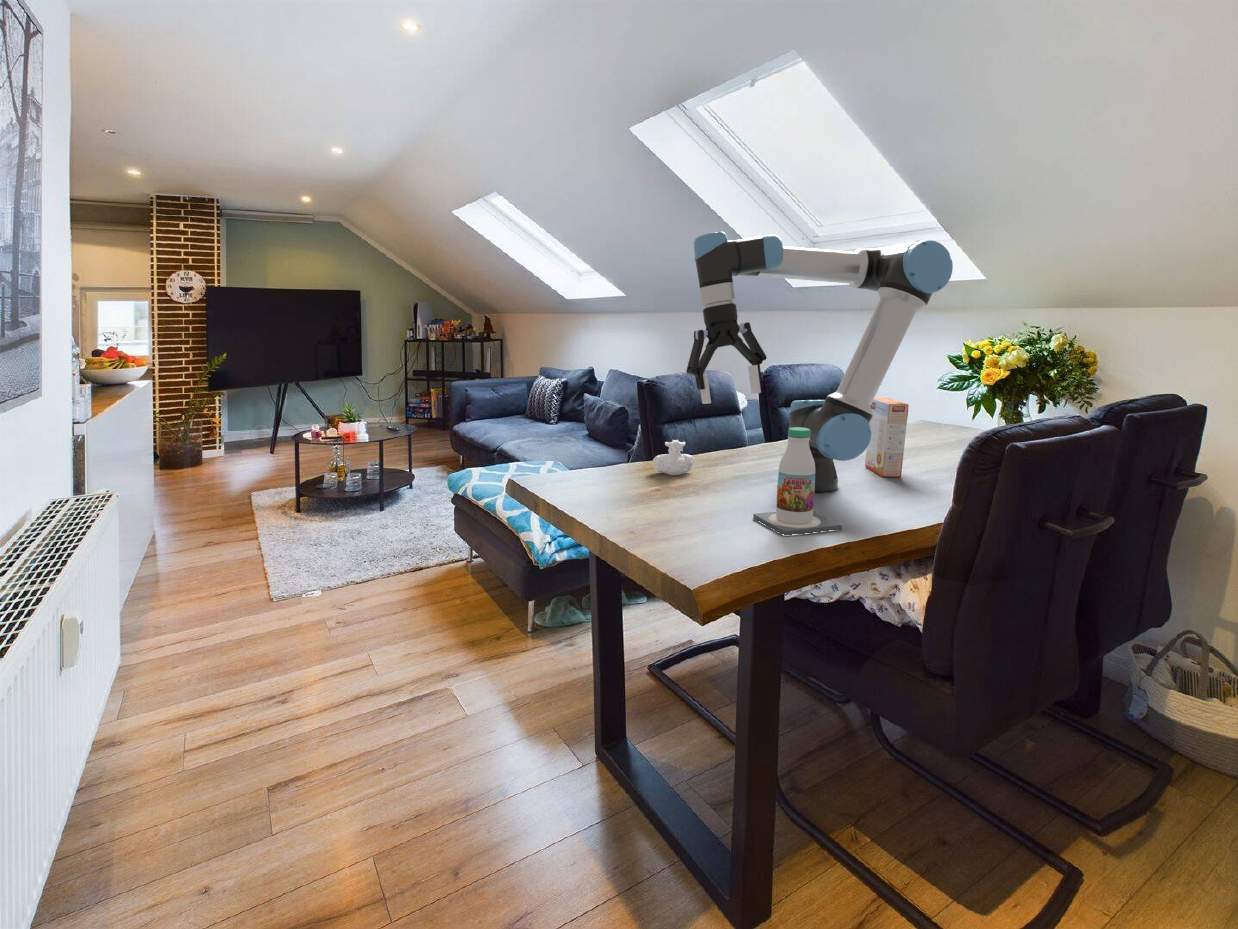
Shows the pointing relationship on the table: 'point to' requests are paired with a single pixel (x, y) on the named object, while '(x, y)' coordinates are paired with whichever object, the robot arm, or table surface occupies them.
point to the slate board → (815, 525)
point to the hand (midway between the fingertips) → (731, 398)
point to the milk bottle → (796, 479)
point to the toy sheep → (674, 460)
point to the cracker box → (887, 437)
